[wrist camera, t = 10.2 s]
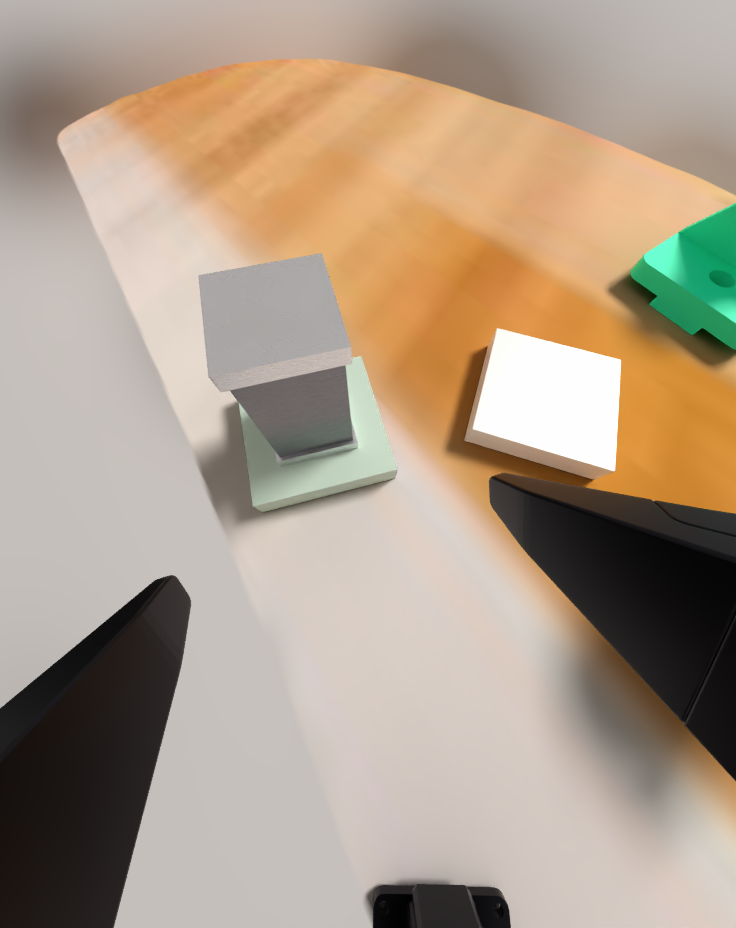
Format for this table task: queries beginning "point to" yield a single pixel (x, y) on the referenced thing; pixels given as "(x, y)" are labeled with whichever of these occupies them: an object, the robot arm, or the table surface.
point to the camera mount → (696, 276)
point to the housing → (282, 354)
